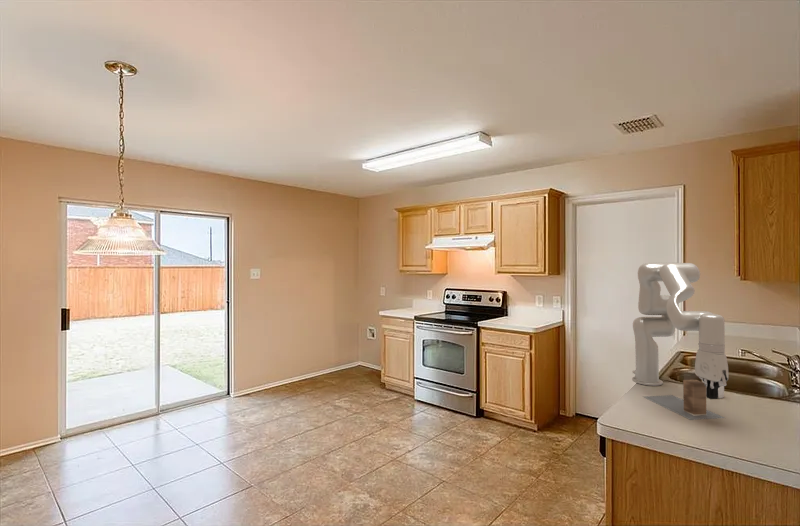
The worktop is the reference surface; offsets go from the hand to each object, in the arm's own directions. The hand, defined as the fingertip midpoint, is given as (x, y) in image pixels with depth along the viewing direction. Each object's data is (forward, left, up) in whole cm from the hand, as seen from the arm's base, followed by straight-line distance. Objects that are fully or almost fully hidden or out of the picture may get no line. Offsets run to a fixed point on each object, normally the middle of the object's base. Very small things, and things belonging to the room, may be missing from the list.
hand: (712, 398), depth 148 cm
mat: (-15, 0, -9) cm, 17 cm away
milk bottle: (-26, +24, -9) cm, 36 cm away
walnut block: (-8, 0, -8) cm, 11 cm away
